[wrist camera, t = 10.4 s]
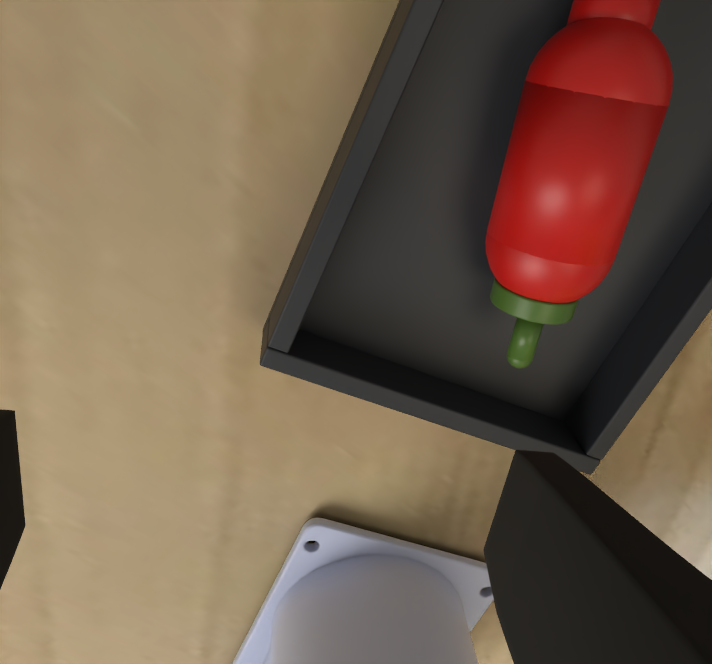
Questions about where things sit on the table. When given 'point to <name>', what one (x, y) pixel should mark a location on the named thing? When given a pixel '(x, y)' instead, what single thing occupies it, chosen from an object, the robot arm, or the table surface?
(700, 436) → the table surface
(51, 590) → the table surface
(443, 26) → the tray
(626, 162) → the chili
